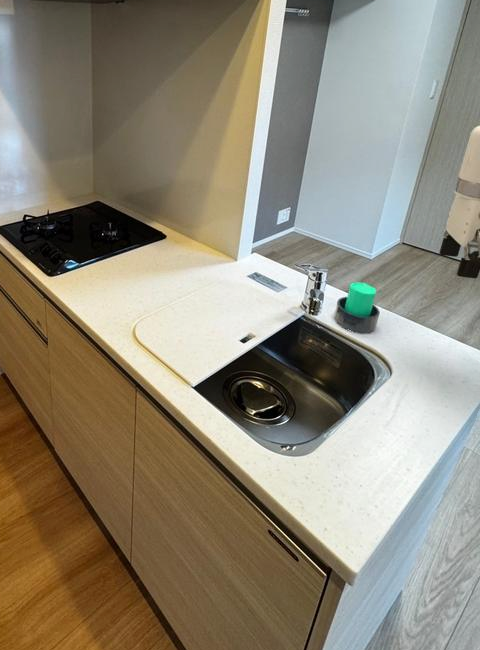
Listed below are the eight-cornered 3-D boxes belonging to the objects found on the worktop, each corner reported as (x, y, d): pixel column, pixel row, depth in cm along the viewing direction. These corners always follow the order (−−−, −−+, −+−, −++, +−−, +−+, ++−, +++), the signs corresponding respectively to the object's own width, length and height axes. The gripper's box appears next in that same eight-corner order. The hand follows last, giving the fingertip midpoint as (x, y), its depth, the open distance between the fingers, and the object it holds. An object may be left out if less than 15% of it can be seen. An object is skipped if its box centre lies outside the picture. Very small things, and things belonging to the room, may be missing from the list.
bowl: (370, 315, 116) (374, 300, 114) (379, 337, 108) (383, 321, 106) (331, 308, 120) (335, 294, 118) (337, 329, 111) (340, 313, 109)
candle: (357, 329, 110) (368, 291, 105) (337, 317, 115) (346, 280, 110) (372, 323, 112) (383, 285, 108) (352, 311, 117) (361, 275, 113)
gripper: (529, 205, 72) (499, 289, 78) (484, 178, 87) (462, 250, 93) (475, 201, 75) (450, 283, 81) (441, 175, 90) (422, 246, 96)
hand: (456, 265), depth 87 cm, fingers open, 9 cm apart
